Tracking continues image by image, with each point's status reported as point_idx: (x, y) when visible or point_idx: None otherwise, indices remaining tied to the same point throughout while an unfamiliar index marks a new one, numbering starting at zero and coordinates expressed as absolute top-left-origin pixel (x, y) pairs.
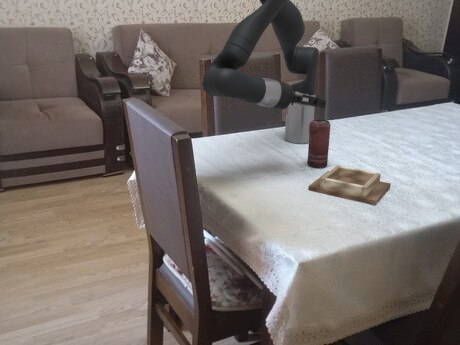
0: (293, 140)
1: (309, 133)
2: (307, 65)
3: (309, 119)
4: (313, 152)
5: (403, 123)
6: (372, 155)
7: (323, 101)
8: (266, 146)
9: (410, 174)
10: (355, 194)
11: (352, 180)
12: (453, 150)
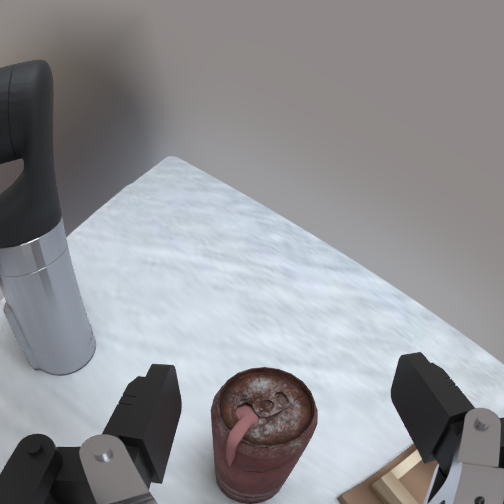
0: (59, 370)
1: (233, 466)
2: (24, 121)
3: (74, 299)
4: (268, 491)
5: (172, 199)
6: (265, 320)
7: (452, 380)
8: (19, 439)
9: (394, 341)
10: None
11: (426, 472)
12: (308, 234)
